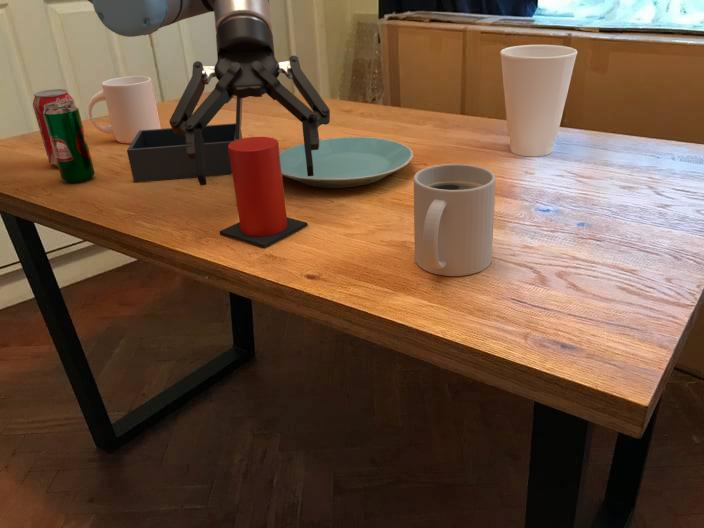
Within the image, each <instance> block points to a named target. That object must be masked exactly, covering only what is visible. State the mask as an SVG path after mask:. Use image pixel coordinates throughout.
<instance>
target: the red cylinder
mask: <svg viewBox="0 0 704 528" xmlns="http://www.w3.org/2000/svg"><path fill="white" fill-rule="evenodd" d="M228 150H229V157H230V163H231V170H232V174H231V176H232V182H233V189H234V195H235V203H236V208H237V209H236V210H237V214H238V222H240V229H241V232H242V233H244V234H246V235H249V236H255V237H262V236H270V235H274V234H277V233H280V232H282V231H283V230H285V229H286V228H287V225H288V224H287V217H288V216H287V207H286V199H285V191H284V182H283V175H282V172H281V163H280V154H279V153H280V148H279V141H278V140H277V139H276V138H274V137H268V136H250V137H242V139H239V140H236V141H233V142H231V143H230V144H229V145H228Z"/></svg>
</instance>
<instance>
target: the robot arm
mask: <svg viewBox="0 0 704 528" xmlns="http://www.w3.org/2000/svg"><path fill="white" fill-rule="evenodd" d="M87 1H88V3H90V4H92V7H93V10H94V12H95V14H96V16H97V17H98V19H99V20H100V22H101V23H102V25H103V26H105V27H106V29H108V30H110V32H112V33H115V34H116V35H119V36H122V37H127V38H132V37H133V38H134V37H141V36H149V35H151V34H153V33H155V32H157V31H159V30H160V29H161V28H164V27H167V26H171V25H172V24H175V23H178V22H180V21H184V20H186V19H190V18H193V17H197V16H201V15H204V14H207V13H212V12H213V13H214V25H215V26H214V28H215V40H216V41H215V43H216V56H217V57H216V58H217V60H216V62H215V65H203V62H201V61H198V60H197V61H194V62H193V63H192V71H191V73H192V74H191V77H190V80H189V81H188V84H187V85H186V88H185V89H184V91H183V93H182V95H181V97H180V99H179V101H178V103H177V104H176V107H175V109H174V111H173V113H172V114H171V117H170V119H169V125H170V128H172V130H173V132H174V134H175V135H185V137H186V151H187V154H188V156H189V158H190V159H195V162H196V176H197V177H196V179H197V181H198V183H199V186H207V176H206V170H205V154H204V139H203V136H202V133H201V131H202V130H203V129H204V128H205V127H206V125H209V123H210V122H211V121H212V120H213V119H214V118H215V116H216V115H217V114H218V113H219V112H220V110H221V109H222V108H223V107H224V105H225V104H229V103H230V101H231V100H232V99H233V98H234V97H236V98H237V97H238V98H243V99H245V98H249V97H253V98H262V97H263V96H264V95H265V94H266V95H267V96H269V97H270V98H271V99H272V100H273V101H276V102H277V103H279V104H280V105H281V106H282V107H283V108H285V109H286V110H287V111H288V112H289V113H290V114H292V115H293V116H294V117H295V118H296V119H297V120H299V122H300V123H301V124H302V137H303V143H304V146H305V156H306V165H307V174H308V176H314V174H313V161H312V152H311V150H318V149H319V140H320V136H319V127H320V126H322V125H325V126H326V125H329V124H330V121H331V109H330V107H328V105H327V103H326V102H325V101H324V100H323V98H322V97H321V95H320V94H319V92H318V91H317V89H316V88H315V87H314V85H312V83H311V80H309V79H308V77H307V76H306V74H305V73H304V72H303V70H302V67H301V64H300V59H299V57H298V56H297V55H291V56H289V58H288V60H285V61H278V60H277V59H276V55H275V45H274V36H273V35H274V34H273V25H272V14H271V6H270V0H87ZM280 74H284V75H285V77H286V78H288V79H289V80H292V82H293V85H294V86H295V88H296V89H297V91H298V92H299V93H300V95H301V96H302V98H303V99H304V101H305V102H306V104H307V105H308V106H309V107H308V106H307V105H306V104H305V103H304V102H303V101H302V100H300V99H299V98H298V96H296V95H295V94H294V93H292V92H291V91H290V90H289V89H288V88H287V87H286V86H284V84H283V83H281V81H280V80H279V79H278V78H279V76H280ZM213 78H216V80H217V82H216V84H215V87H214V89H213V90H211V92H210V93H209V95H208V96H206V98H205V99H204V100H203V101H202V103H201V104H200V105H199V106H198V104H199V101H200V99H201V98H202V95H203V93H204V91H205V89H206V88H205V87H206V85H209V84H210V82H211V79H213ZM197 106H198V107H197ZM196 107H197V108H196Z"/></svg>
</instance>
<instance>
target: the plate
mask: <svg viewBox="0 0 704 528" xmlns="http://www.w3.org/2000/svg"><path fill="white" fill-rule="evenodd" d="M311 152H312V161H313V174H314V176H308V174H307V165H306V156H305V146H304V142H303V143H300V144H296V145H293V146H290V147H288V148H286V149H283V150H282V151H279V154H280V163H281V172H282V177H286V178H289V179H292V180H294V181H298V182H300V183H302V184H305V185H308V186H313V187H318V188H325V189H326V188H327V189H328V188H329V189H336V188H337V189H338V188H340V189H342V188H343V189H344V188H353V187H354V188H355V187H361V186H365V185H370V184H372V183H375V182H377V181H378V182H379V181H381V180H382V179H384V178H385V177H387V176H389V175H391V174H393V173H395V172H397V171H399V170H401V169H403V168H404V167H406V166H408V164H409V163H410V162H411V161H412V160H413V158H414V152H413V150H412V149H411V148H410V147H409V146H408V145H406V144H404V143H401V142H398V141H396V140H391V139H388V138H381V137H373V136H341V137H340V136H339V137H332V138H324V139H319V149H318V150H311Z"/></svg>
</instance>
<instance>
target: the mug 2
mask: <svg viewBox="0 0 704 528" xmlns="http://www.w3.org/2000/svg"><path fill="white" fill-rule="evenodd" d="M496 179H497V178H496V175H495V173H494V172H493V171H491V170H490V169H487V168H485V167H484V166H483V167H482V166H479V165H474V164H469V163H468V164H467V163H443V164H436V165H431V166H428V167H424V168H422V169H420V170H419V171H417V172H416V173H414V176H413V227H414V228H413V230H414V232H413V233H414V235H413V236H414V261H415V263H416V265H417V266H418V267H419V268H420V269H422V270H423V271H425V272H427V273H431V274H434V275H438V276H444V277H463V276H470V275H474V274H477V273H480V272H482V271H484V270H486V269H487V268H488V267H489V266H490V265H491V263H492V261H493V246H494V245H493V244H494V243H493V241H494V222H495V203H496V184H497V183H496V182H497V181H496Z"/></svg>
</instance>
